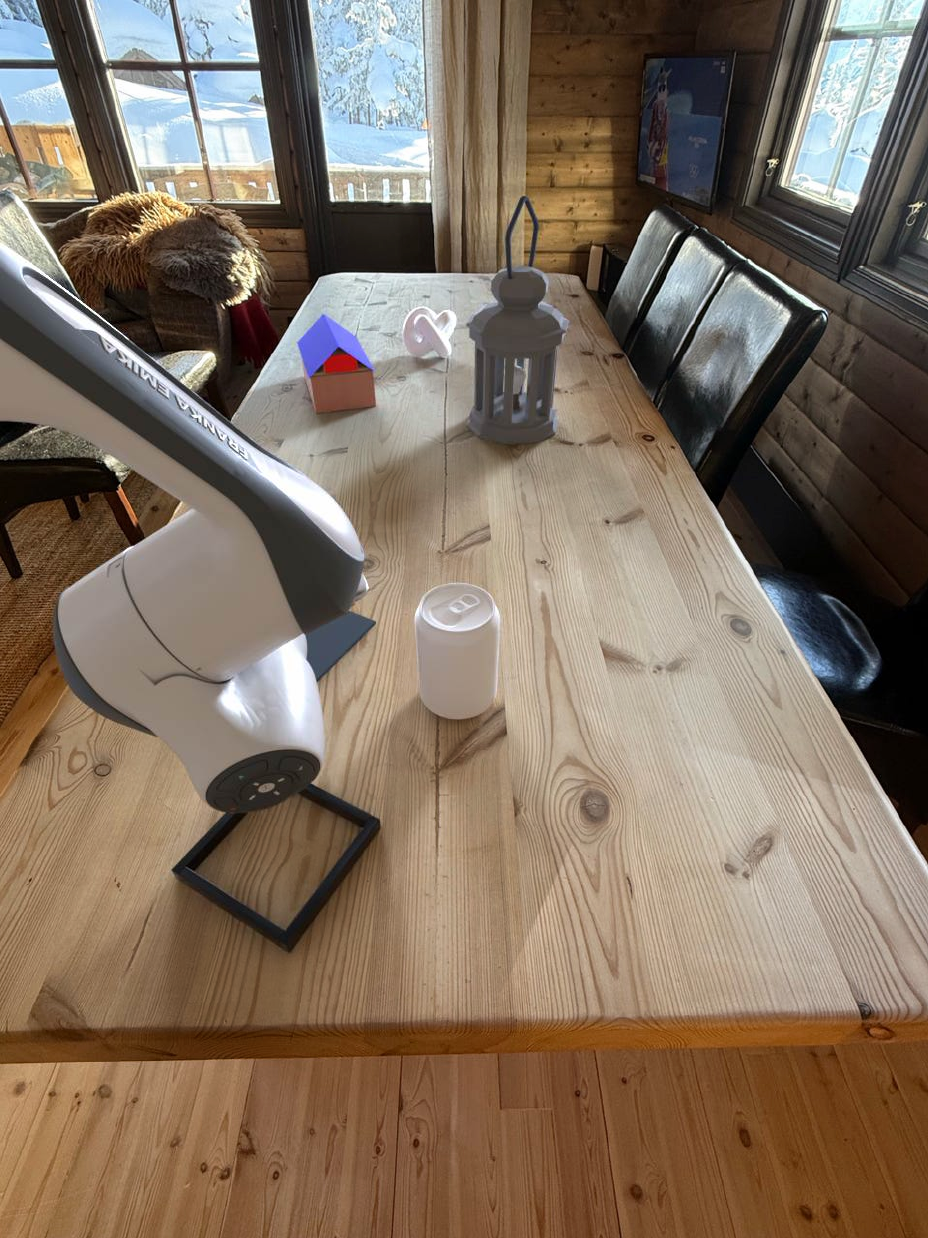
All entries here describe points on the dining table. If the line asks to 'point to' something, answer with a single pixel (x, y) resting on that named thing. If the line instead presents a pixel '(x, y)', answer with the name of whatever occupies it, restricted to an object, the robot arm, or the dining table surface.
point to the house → (336, 368)
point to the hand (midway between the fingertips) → (231, 534)
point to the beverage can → (457, 650)
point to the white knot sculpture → (428, 332)
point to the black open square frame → (319, 897)
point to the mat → (335, 641)
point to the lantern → (516, 352)
